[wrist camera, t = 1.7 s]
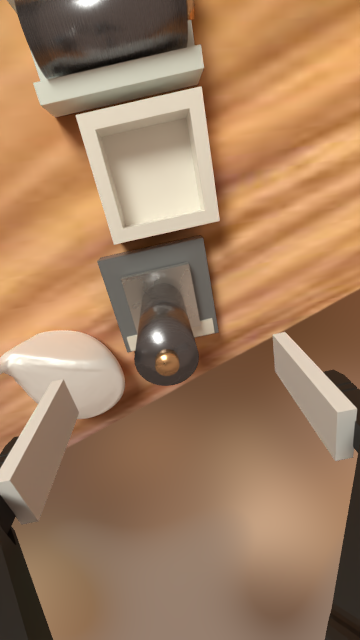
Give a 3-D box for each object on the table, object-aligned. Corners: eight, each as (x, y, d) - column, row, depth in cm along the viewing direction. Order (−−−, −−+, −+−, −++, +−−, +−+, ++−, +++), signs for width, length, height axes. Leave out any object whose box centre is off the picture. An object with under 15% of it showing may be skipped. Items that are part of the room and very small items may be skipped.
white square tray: (118, 239, 29) (114, 244, 26) (85, 126, 25) (75, 115, 22) (212, 218, 29) (219, 220, 26) (195, 100, 25) (201, 86, 21)
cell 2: (147, 326, 30) (143, 398, 19) (136, 288, 28) (125, 344, 17) (187, 317, 30) (205, 385, 19) (178, 279, 28) (194, 329, 17)
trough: (55, 117, 24) (40, 105, 21) (17, 0, 21) (-7, -34, 18) (197, 84, 24) (204, 67, 21) (180, -38, 21) (185, -79, 18)
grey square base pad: (129, 344, 34) (127, 353, 32) (100, 257, 30) (96, 262, 27) (215, 325, 34) (219, 333, 32) (200, 235, 29) (203, 238, 27)
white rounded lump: (-9, 335, 24) (81, 440, 23) (80, 301, 33) (146, 376, 32) (-33, 388, 29) (39, 473, 29) (49, 346, 38) (105, 411, 38)
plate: (139, 335, 31) (138, 339, 30) (121, 276, 28) (120, 279, 27) (199, 322, 31) (200, 325, 30) (187, 261, 28) (189, 264, 27)
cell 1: (55, 88, 23) (34, 65, 19) (33, 17, 21) (4, -26, 17) (193, 56, 23) (201, 26, 19) (183, -18, 21) (190, -70, 17)
